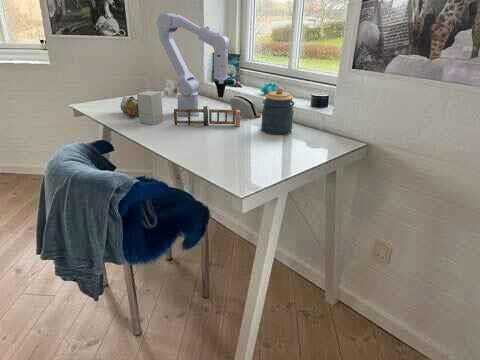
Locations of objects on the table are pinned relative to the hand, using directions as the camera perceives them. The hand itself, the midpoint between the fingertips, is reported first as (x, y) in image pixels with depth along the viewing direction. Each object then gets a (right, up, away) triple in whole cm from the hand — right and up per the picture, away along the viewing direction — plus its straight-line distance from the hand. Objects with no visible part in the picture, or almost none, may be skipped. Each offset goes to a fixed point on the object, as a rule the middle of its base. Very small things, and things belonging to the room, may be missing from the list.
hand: (220, 97), depth 159 cm
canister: (+24, -16, -10) cm, 31 cm away
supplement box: (-30, -12, -5) cm, 32 cm away
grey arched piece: (+11, -6, +11) cm, 16 cm away
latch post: (+8, -14, -6) cm, 17 cm away
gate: (+1, -13, -7) cm, 15 cm away
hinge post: (-6, -14, -7) cm, 17 cm away
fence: (-13, -14, -8) cm, 20 cm away
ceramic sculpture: (-40, -7, +4) cm, 41 cm away
